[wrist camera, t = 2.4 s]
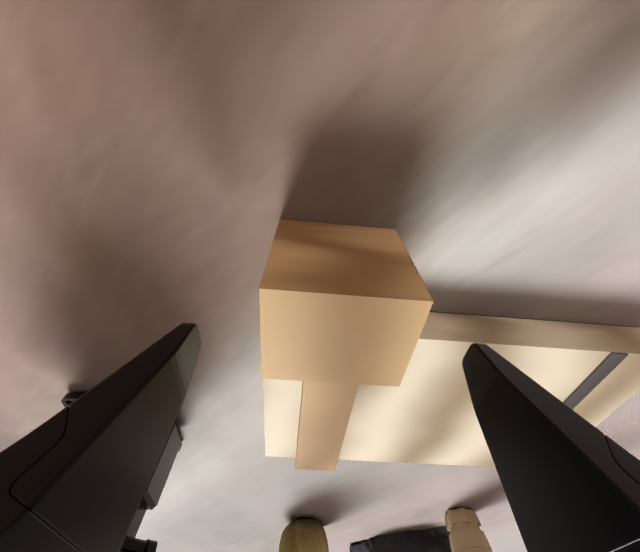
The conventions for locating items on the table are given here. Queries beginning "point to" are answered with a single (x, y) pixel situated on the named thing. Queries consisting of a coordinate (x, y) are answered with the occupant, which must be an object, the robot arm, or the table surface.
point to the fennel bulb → (304, 537)
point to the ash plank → (452, 391)
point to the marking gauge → (337, 323)
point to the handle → (465, 531)
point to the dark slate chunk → (408, 542)
